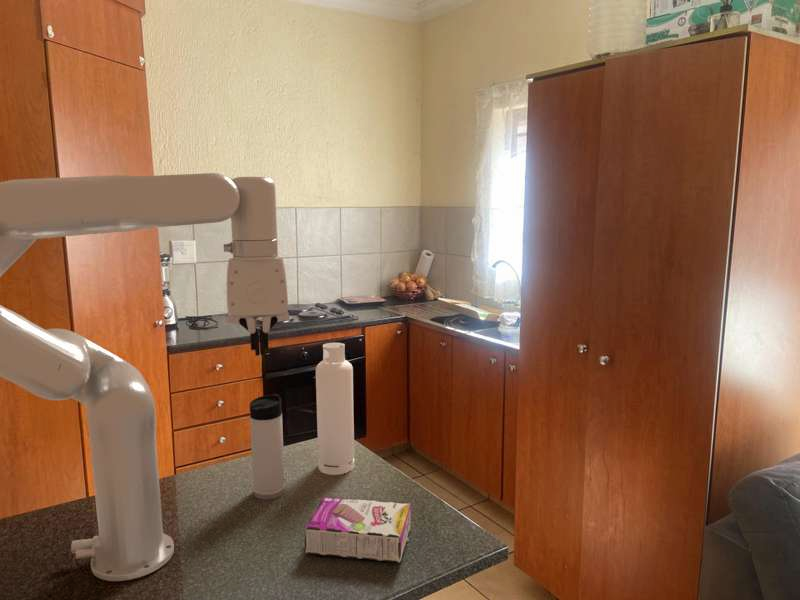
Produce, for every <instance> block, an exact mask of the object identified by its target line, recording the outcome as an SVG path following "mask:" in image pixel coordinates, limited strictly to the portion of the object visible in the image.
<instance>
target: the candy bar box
mask: <svg viewBox="0 0 800 600" xmlns="http://www.w3.org/2000/svg"><path fill="white" fill-rule="evenodd" d="M411 511H412V507H411V503H405V502H395V501H393V502H392V501H382V500H381V501H380V500H379V501H378V500H367V499H354V498H353V499H352V498H344V497H334V496H333V497H332V496H331V497H330V496H323V497H322V499H321V501H320V502H319V504H318V505H317V507H316V509H315V511H314V513H313V514H312V515H311V518H310V519H309V521H308V522H307V524H306V526H305V527H304V553H305V554H311V555H321V556H330V557H331V556H332V557H342V558H350V559H351V558H352V559H361V560H372V561H381V562H392V563H399V564H400V563H401V561H402V557H403V554H404V551H405V548H406V547H405V546H406V544H407V542H406V541H407V537H408V538H409V533H410V530H411V522H412V521H411V519H412V518H411V517H412V513H411Z"/></svg>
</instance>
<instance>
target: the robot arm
mask: <svg viewBox="0 0 800 600" xmlns="http://www.w3.org/2000/svg"><path fill="white" fill-rule="evenodd" d="M229 219H230V224H231V239H232V240H231V242H228V243H223V252H224V253H230V254H231V255H232V257H231V258H229V259H228V262H227V270H226V306H227V314H226V322H227V323H231V324H236V325H240V326H241V327H243V328H244V329H245V330H246V331H248V332H249V334H250V351H254V353H255V356H256V357H257V356H260V355H261V356H265V355H266V352H265V351H266V350H269V332H270V330H271V329H272V328H273V327H274V326H275V324H277V323H278V322H283V321H286V320H288V319H289V318H290V313H289V310H288V309H289V299H288V298H289V297H288V284H287V276H286V268H285V263H284V259H283V257H281V256H279V254H278V253H279V251H278V247H279V246H278V227H277V225H278V224H277V199H276V186H275V182H274V181H273V179H271V178H270V177H265V176H237V177H234V178H229V177H227V176H226V175H224V174H221V173H216V172H204V173H187V174H186V173H185V174H164V175H163V174H161V175H124V174H123V175H121V174H118V175H115V174H113V175H109V174H108V175H90V176H89V175H88V176H69V177H45V178H44V177H42V178H21V179H10V180H4V181H1V182H0V278H1V277H2V276H3V275H4V274H5V273H6V272H7V271H8V270H9V269H10V268H11V266H13V264H14V263H15V262H16V261H17V260H18V259H20V257H22V255H23V254H24V253H25V252H26V251H28V249H29V248H30V247H31V246H32V245H34V243H35V242H36V241H37V240H40V239H52V238H63V237H73V236H74V237H75V236H84V235H85V236H87V235H97V234H98V235H100V234H110V233H111V234H112V233H122V232H123V233H124V232H134V231H139V230H145V229H153V228H166V227H167V228H168V227H178V226H191V225H202V224H215V223H222V222H225V221H227V220H229ZM258 317H262V322H261V323H262V324H261V326H260V330H258V327H257V326H256V324H255V320H254V319H255V318H258ZM0 377H1V378H2V379H5V380H6V381H9V382H10V383H12V384H15V385H16V386H18V387H20V388H22V389H24V390H25V391H27V392H29V393H31V394H33V395H35V396H36V397H38V398H41V399H44V400H48V401H65V400H68V399H72V400H75V401H76V402H78V403H80V404H83V405H84V406H85V409H86V411H85V412H86V420H87V428H88V436H89V437H88V438H89V447H90V459H91V469H92V478H93V486H94V487H93V488H94V497H95V507H96V510H95V511H96V518H97V531H98V535H94V536H93V537H92V538H87V539H85V538H83V539H77V540H76V539H75V540H72V541H71V546H70V550H71V553H72V554H75V559H76V560H81V559H86V558H91V560H90V569H91V572H92V575H93V576H95V578H98V579H100V580H103V581H107V582H125V581H130V580H135V579H139V578H142V577H145V576H147V575H150V574H152V573H154V572H155V571H157V570H159V569H160V568H162V567H164V565H165V564H167V563H168V562H169V561H170V559H171V558H172V557H173V555H174V552H175V544H174V543H175V542H174V539H172V537H171V536H169V535H168V534H166V533H164V529H163V514H162V501H161V490H160V489H161V488H160V475H159V465H158V464H159V463H158V454H157V450H158V449H157V409H156V403H155V399H154V395H153V393H152V390H151V388H150V385H149V384H148V383H147V381H146V379H145V378H144V376H143V374H142V373H141V371H140V370H138V369H137V367H135V366H134V365H132V364H131V363H129V362H127V360H124V359H123V358H120V357H119V356H118V355H115V354H114V353H112V352H110V351H109V350H107V349H105V348H103V347H102V346H100V345H98V344H96V343H95V342H93V341H91V340H89V339H88V338H86V337H84V336H83V335H81V334H78V333H77V332H74V331H71V330H69V329H65V328H56V327H55V328H48V329H45V328H43V327H41V326H39V325H38V324H35V323H34V322H32V321H30V320H29V319H28V318H25V317H24V316H23V315H21V314H19V313H17V312H15V311H13V310H11V309H9V308H7V307H4V306H3V305H1V304H0Z"/></svg>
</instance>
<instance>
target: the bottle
mask: <svg viewBox="0 0 800 600" xmlns="http://www.w3.org/2000/svg"><path fill="white" fill-rule="evenodd" d="M345 345H346V344H345V343H342V342H328V343H324V344H322V351H323V352H322V353H323V354H322V355H323V356H322V360H321V361H320V362H319V363H318V364H317V365H316V367H315V388H316V389H315V391H316V394H315V396H316V424H317V425H316V428H317V430H316V431H317V457H318V461H317V462H318V464H317V465H318V470H319V471H320V473H323V474H326V475H330V476H331V475H332V476H338V475H339V476H340V475H344V473H345V474H348V473H350V472H351V471H353V470H354V469H353V468H355V425H354V424H355V423H354V422H355V421H354V415H355V414H354V367H353V365H352V363H351V362H349V361H348V360H347V359H346V354H345V353H346V351H345V350H346V349H345V347H346V346H345ZM349 471H350V472H349ZM347 472H348V473H347Z"/></svg>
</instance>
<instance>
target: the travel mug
mask: <svg viewBox="0 0 800 600" xmlns="http://www.w3.org/2000/svg"><path fill="white" fill-rule="evenodd" d="M249 425H250V443H251V444H250V445H251V448H250V449H251V464H252V465H251V468H252V485H253V488H252V489H253V490H252V491H253V496H254V497H255V498H257V499H258V500H259V499H260V500H262V501H263V500H266V501H268V500H273V499H276V498H277V499H278V498H279V497H281V496H282V495H284V493H285V492H286V483H285V481H286V480H285V478H286V477H285V461H284V460H285V458H284V454H285V453H284V438H283V437H284V435H283V434H284V433H283V432H284V431H283V427H284V426H283V413H282V399H281V395H280V394H276V393H272V394H270V395H269V394H268V395H262V396H259V397H256V398H254V399H253V400H251V401H250V402H249Z"/></svg>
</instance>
